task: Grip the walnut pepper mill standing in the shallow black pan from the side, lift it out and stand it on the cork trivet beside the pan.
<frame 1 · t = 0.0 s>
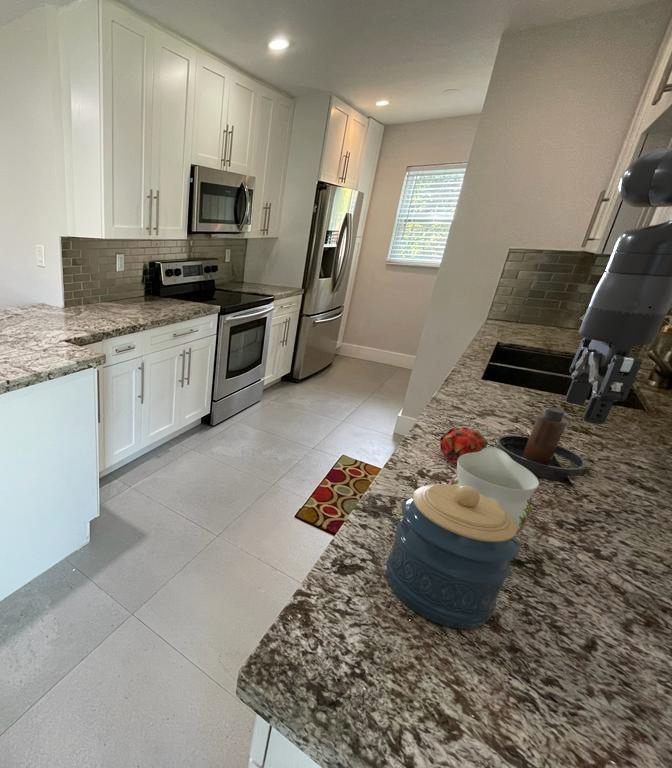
hand: (582, 412, 63), 23 cm above the table, tool pointing down, fingers open, 8 cm apart
pan: (534, 464, 93), on the table
trivet: (561, 446, 101), on the table
canister: (434, 592, 59), on the table
pepper mill: (534, 462, 93), point 1 cm above the table, touching pan
pitcher: (472, 541, 69), on the table
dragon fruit: (457, 461, 93), on the table
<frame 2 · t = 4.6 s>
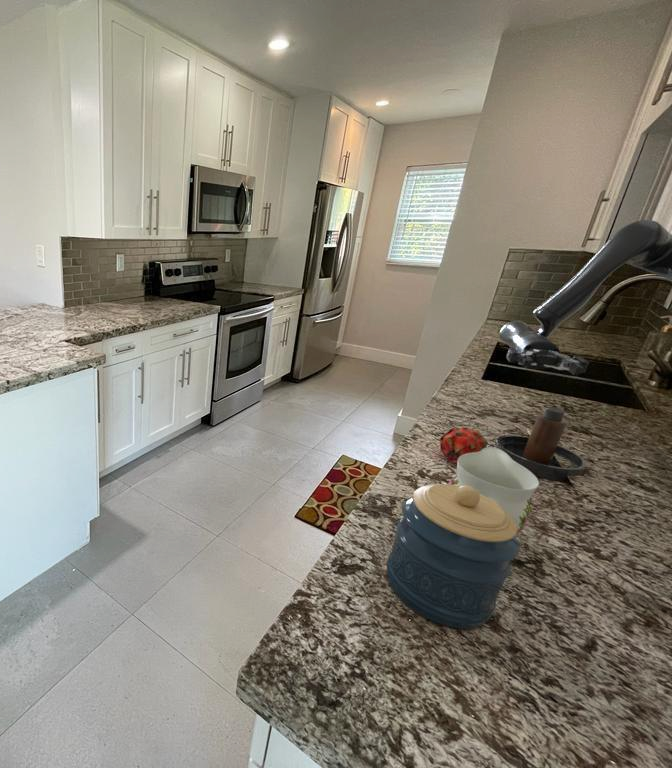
hand: (553, 367, 94), 20 cm above the table, tool horizontal, fingers open, 8 cm apart
nothing on the table moved.
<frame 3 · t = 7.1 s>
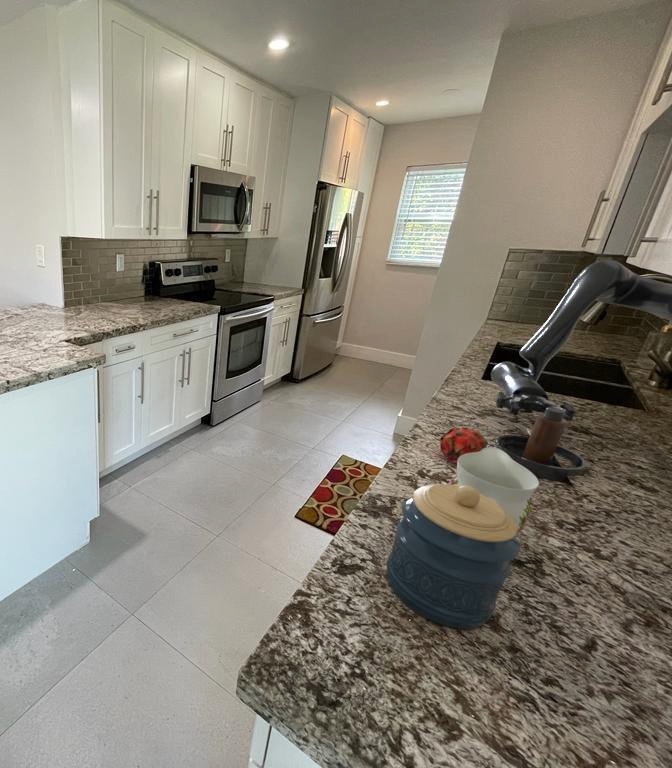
hand: (539, 416, 96), 9 cm above the table, tool horizontal, fingers open, 8 cm apart
nothing on the table moved.
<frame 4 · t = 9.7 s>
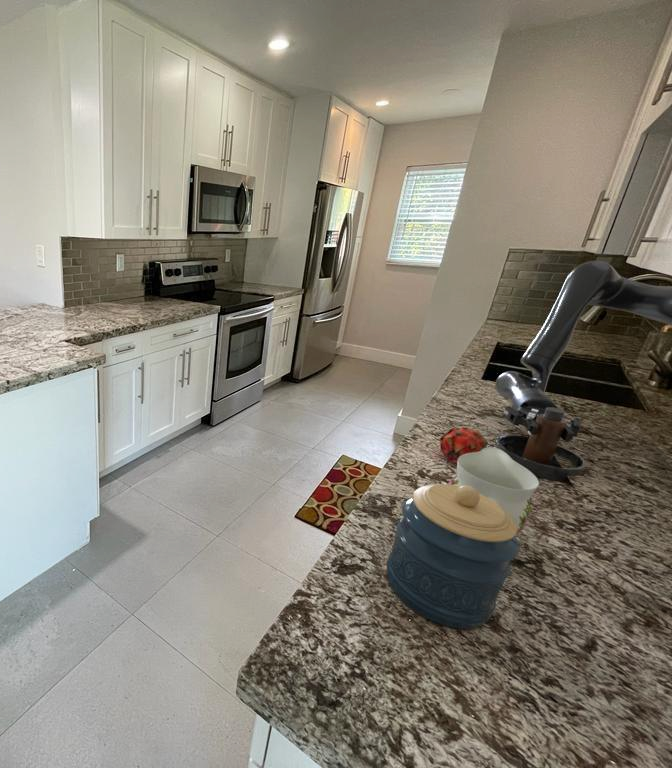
hand: (551, 433, 88), 9 cm above the table, tool horizontal, fingers closed on pepper mill, 5 cm apart
pepper mill: (534, 462, 93), point 1 cm above the table, touching gripper, pan
everything else where it was.
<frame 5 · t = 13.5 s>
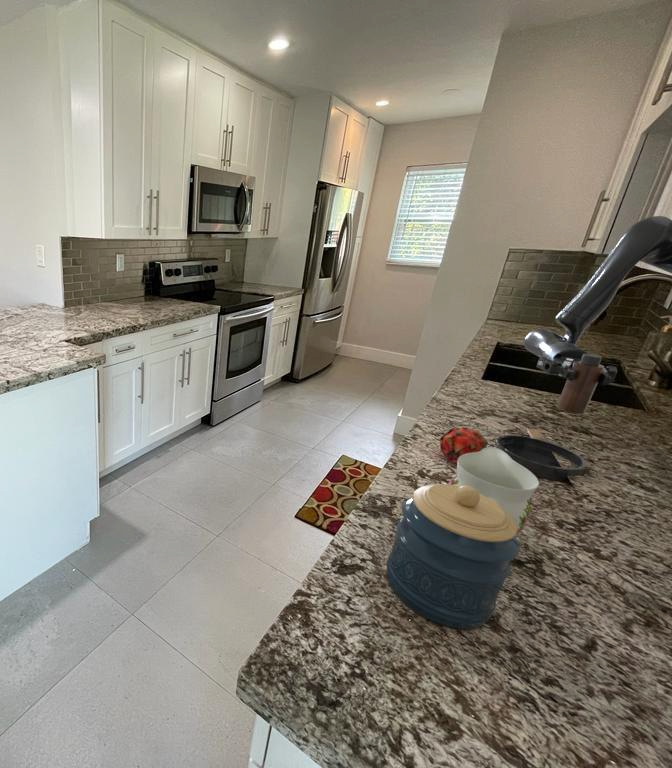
hand: (588, 378, 89), 20 cm above the table, tool horizontal, fingers closed on pepper mill, 5 cm apart
pepper mill: (570, 409, 94), point 11 cm above the table, touching gripper
everything else where it was.
when the fingers open (9 cm above the table, at t = 17.6 s): pepper mill stays where it is, resting on trivet.
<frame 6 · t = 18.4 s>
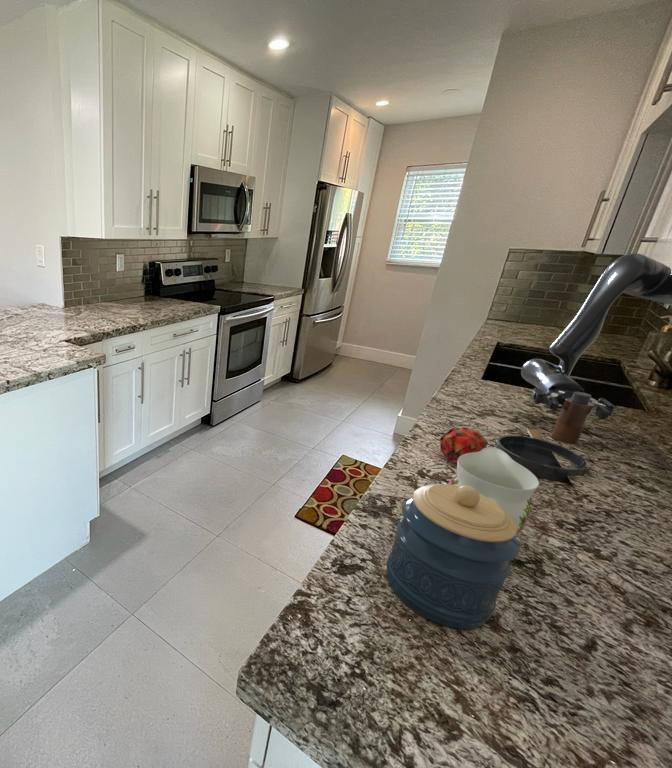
hand: (579, 411, 96), 10 cm above the table, tool horizontal, fingers open, 8 cm apart
pepper mill: (562, 442, 101), point 1 cm above the table, touching trivet
everything else where it was.
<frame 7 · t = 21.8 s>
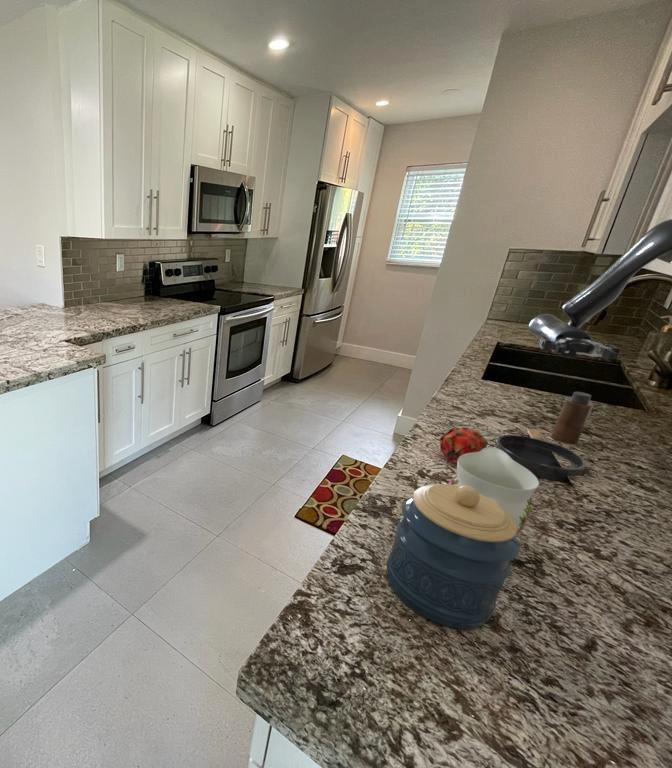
hand: (587, 353, 99), 22 cm above the table, tool horizontal, fingers open, 8 cm apart
nothing on the table moved.
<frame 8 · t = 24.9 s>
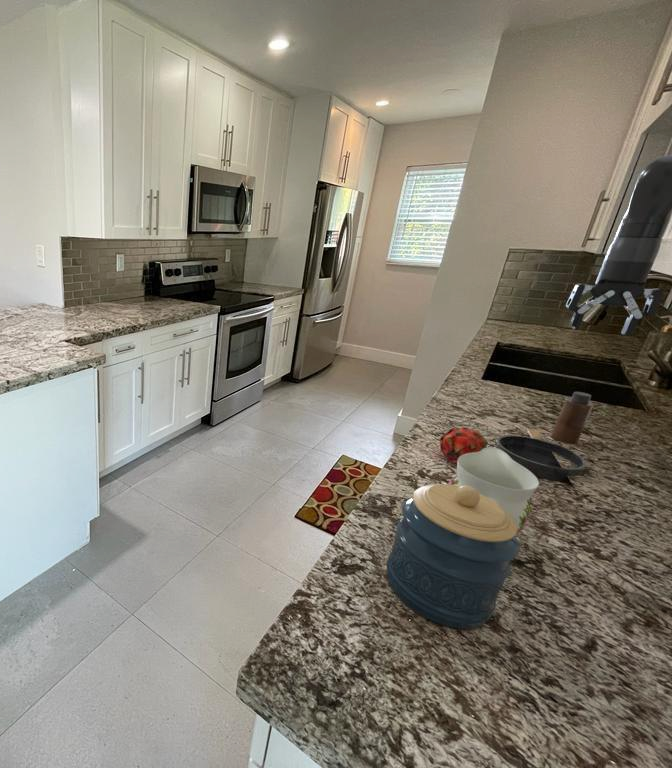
hand: (599, 331, 95), 28 cm above the table, tool pointing down, fingers open, 8 cm apart
nothing on the table moved.
at the end: pepper mill inside the target area (0.2 cm from its centre), point 1.0 cm above the table; pepper mill tilted 0°; pepper mill touching trivet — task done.
